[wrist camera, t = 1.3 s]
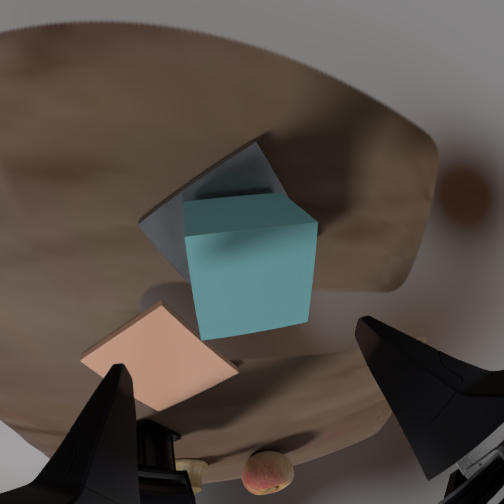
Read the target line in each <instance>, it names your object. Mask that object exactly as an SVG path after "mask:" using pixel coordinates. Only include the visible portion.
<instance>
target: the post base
mask: <svg viewBox="0 0 504 504" xmlns="http://www.w3.org/2000/svg"><path fill="white" fill-rule="evenodd" d="M270 193H282V194H284V195H285V196H286V197H288V195H287V193H286V192H285V190H284V188H283V186H282V185H281V183H280V181H279V179H278V178H277V176H276V174H275V172H274V171H273V169H272V167H271V166H270V164H269V162H268V161H267V159H266V157H265V156H264V154H263V152H262V151H261V149H260V147H259V146H258V144H257V142H254V141H250V142H249V143H247V144H246V145H244V146H242V147H241V148H239V149H238V150H236V151H234V152H233V153H231V154H230V155H228V156H227V157H225V158H224V159H222V160H221V161H219V162H217V163H216V164H214V165H213V166H211V167H210V168H209V169H207V170H206V171H204V172H203V173H201V174H200V175H198V176H197V177H195V178H194V179H193V180H191V181H190V182H188V183H187V184H185V185H184V186H183V187H181V188H180V189H178V190H177V191H176V192H174V193H173V194H172V195H170V196H169V197H168V198H166V199H165V200H164V201H162V202H161V203H160V204H158V205H157V206H156V207H154V208H153V209H152V210H150V211H149V212H148V213H146V214H145V215H144V216H143V217H141V218H140V220H139V222H138V226H139V228H140V229H141V230H142V231H143V232H144V233H145V235H146V236H147V237H148V238H149V239H150V241H151V242H152V243H153V244H154V245H155V246H156V247H157V249H158V250H159V251H160V252H161V253H162V254H163V255H164V257H165V258H166V259H167V260H168V261H169V262H170V263H171V264H172V266H173V267H174V268H175V269H176V270H177V271H178V272H179V273H180V274H181V276H182V277H183V278H184V279H185V280H186V281H187V282H188V283H189V284H190V285H191V279H190V272H189V266H188V259H187V252H186V244H185V236H184V206H183V202H186V201H195V200H204V199H213V198H223V197H233V196H245V195H257V194H270ZM288 198H289V197H288ZM191 286H192V285H191Z"/></svg>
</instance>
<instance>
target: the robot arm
mask: <svg viewBox="0 0 504 504" xmlns="http://www.w3.org/2000/svg"><path fill="white" fill-rule="evenodd" d="M355 337H356V340H357V342H358V344H359V347H360V349H361V351H362V354H363V356H364V358H365V361H366V363H367V365H368V367H369V369H370V371H371V373H372V375H373V377H374V378H375V380H376V382H377V384H378V386H379V387H380V389H381V391H382V393H383V395H384V396H385V398H386V400H387V402H388V404H389V406H390V407H391V409H392V411H393V413H394V415H395V416H396V419H397V420H398V422H399V424H400V426H401V428H402V430H403V432H404V434H405V436H406V437H407V440H408V442H409V443H410V446H411V448H412V449H413V452H414V454H415V456H416V458H417V460H418V462H419V464H420V466H421V468H422V470H423V472H424V474H425V476H426V478H427V480H428V481H429V480H431V479H432V478H434V477H436V476H437V475H439V474H440V473H442V472H443V471H445V470H446V469H448V468H449V467H450V466H452V465H453V464H455V463H456V464H457V466H458V469H457V470H455V471H454V472H453V473H452V474H450V478H449V482H448V485H447V489H446V492H445V496H444V499H443V500H442V501H440V502H439V503H438V504H504V370H500V371H488V370H484V369H482V368H479V367H476V366H473V365H471V364H468V363H466V362H463V361H461V360H458V359H456V358H454V357H451V356H449V355H447V354H445V353H443V352H441V351H438V350H437V349H435V348H433V347H431V346H429V345H427V344H425V343H423V342H421V341H419V340H417V339H415V338H413V337H411V336H409V335H406V334H405V333H403V332H401V331H398V330H396V329H395V328H392V327H391V326H388V325H386V324H384V323H383V322H381V321H378V320H376V319H375V318H373V317H371V316H364V317H361V318H359V319H358V322H357V326H356V330H355ZM180 439H181V435H179V434H177V433H175V432H173V431H170V430H168V429H166V428H164V427H162V426H160V425H158V424H156V423H154V422H152V421H150V420H144V421H142V422H139V423H137V424H136V410H135V400H134V389H133V380H132V377H131V375H130V373H129V371H128V370H127V368H126V366H125V365H124V364H123V363H119V364H113V365H112V366H111V368H110V369H109V371H108V372H107V374H106V375H105V377H104V378H103V380H102V381H101V383H100V384H99V386H98V387H97V389H96V390H95V392H94V393H93V395H92V396H91V398H90V399H89V401H88V402H87V404H86V405H85V407H84V409H83V410H82V412H81V413H80V415H79V416H78V418H77V419H76V421H75V423H74V424H73V426H72V427H71V429H70V432H68V434H67V435H66V437H65V439H64V440H63V442H62V443H61V445H60V446H59V448H58V449H57V451H56V452H55V453H54V455H53V456H52V458H51V459H50V460H49V462H48V463H47V464H46V466H45V467H44V468H43V469H42V471H41V472H40V473H39V475H38V476H37V477H36V478H35V479H34V480H33V481H32V482H31V483H29V484H27V485H25V486H22V487H19V488H16V489H13V490H10V491H7V492H4V493H1V494H0V504H196V503H195V496H194V492H193V489H192V486H191V482H190V479H189V475H188V472H187V470H182V471H178V470H176V463H175V455H174V445H173V442H174V441H177V440H180Z"/></svg>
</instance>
